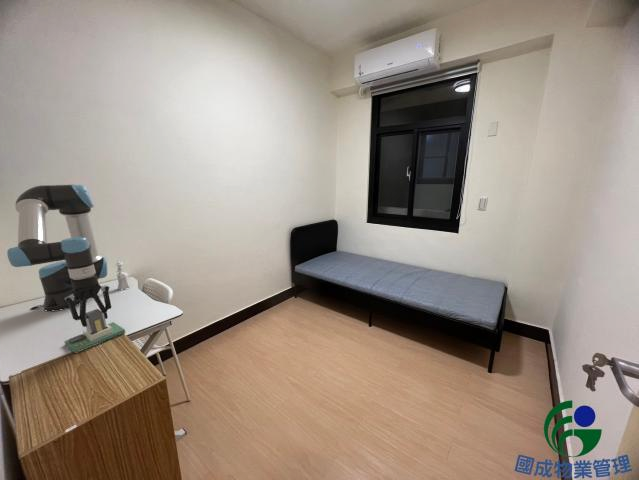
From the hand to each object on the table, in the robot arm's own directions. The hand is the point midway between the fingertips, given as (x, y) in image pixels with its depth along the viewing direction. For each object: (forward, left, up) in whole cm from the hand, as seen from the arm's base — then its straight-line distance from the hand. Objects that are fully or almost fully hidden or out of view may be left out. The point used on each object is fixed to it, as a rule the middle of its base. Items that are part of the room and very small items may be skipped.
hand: (97, 329), depth 103 cm
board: (0, -1, -4) cm, 4 cm away
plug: (0, 0, -2) cm, 2 cm away
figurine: (-53, +29, -4) cm, 61 cm away
